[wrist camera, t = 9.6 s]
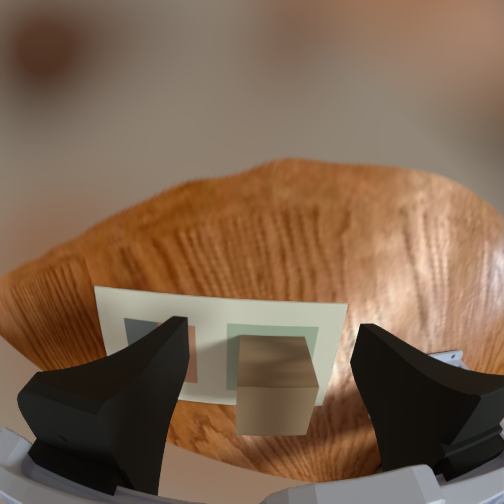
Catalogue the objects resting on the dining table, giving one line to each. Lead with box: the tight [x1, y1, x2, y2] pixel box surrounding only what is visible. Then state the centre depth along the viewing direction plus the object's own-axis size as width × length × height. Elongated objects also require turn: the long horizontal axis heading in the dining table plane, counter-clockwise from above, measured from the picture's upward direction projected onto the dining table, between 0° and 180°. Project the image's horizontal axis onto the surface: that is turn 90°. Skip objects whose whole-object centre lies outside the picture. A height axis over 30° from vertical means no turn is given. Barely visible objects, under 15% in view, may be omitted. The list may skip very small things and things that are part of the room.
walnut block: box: [235, 335, 319, 436], centre depth 20 cm, size 5×5×6 cm
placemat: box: [94, 286, 348, 406], centre depth 22 cm, size 20×11×1 cm, turn 87°
